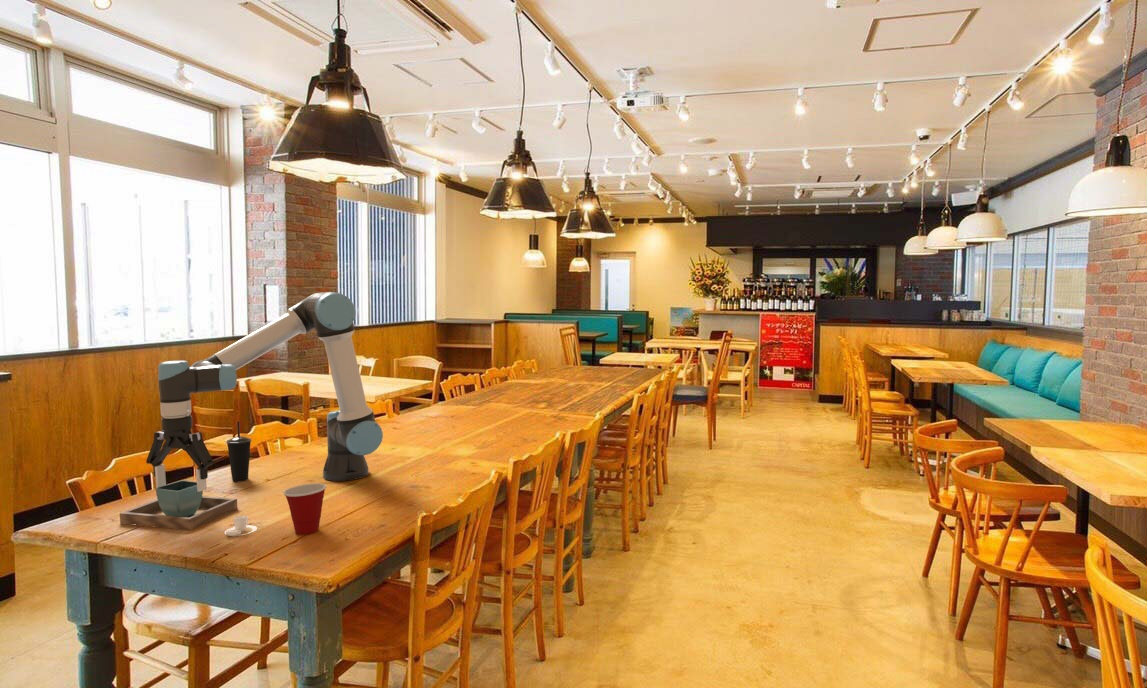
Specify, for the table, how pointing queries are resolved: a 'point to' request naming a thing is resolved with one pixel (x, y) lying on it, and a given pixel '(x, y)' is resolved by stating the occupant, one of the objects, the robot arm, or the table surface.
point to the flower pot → (179, 498)
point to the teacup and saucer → (239, 527)
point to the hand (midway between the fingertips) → (181, 489)
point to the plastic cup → (306, 506)
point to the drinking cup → (239, 456)
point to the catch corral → (144, 516)
